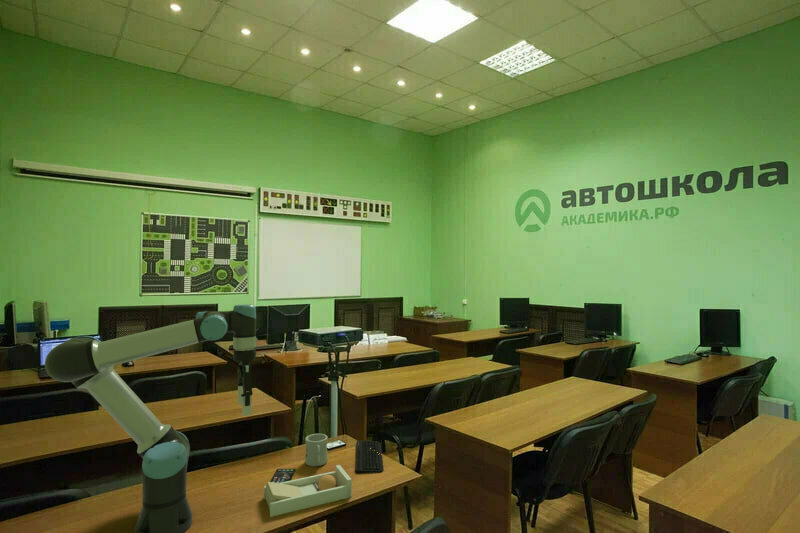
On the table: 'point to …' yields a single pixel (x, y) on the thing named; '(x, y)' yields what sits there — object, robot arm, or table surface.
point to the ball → (327, 482)
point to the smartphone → (283, 475)
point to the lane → (306, 492)
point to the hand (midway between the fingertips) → (244, 409)
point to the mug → (316, 449)
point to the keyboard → (368, 457)
